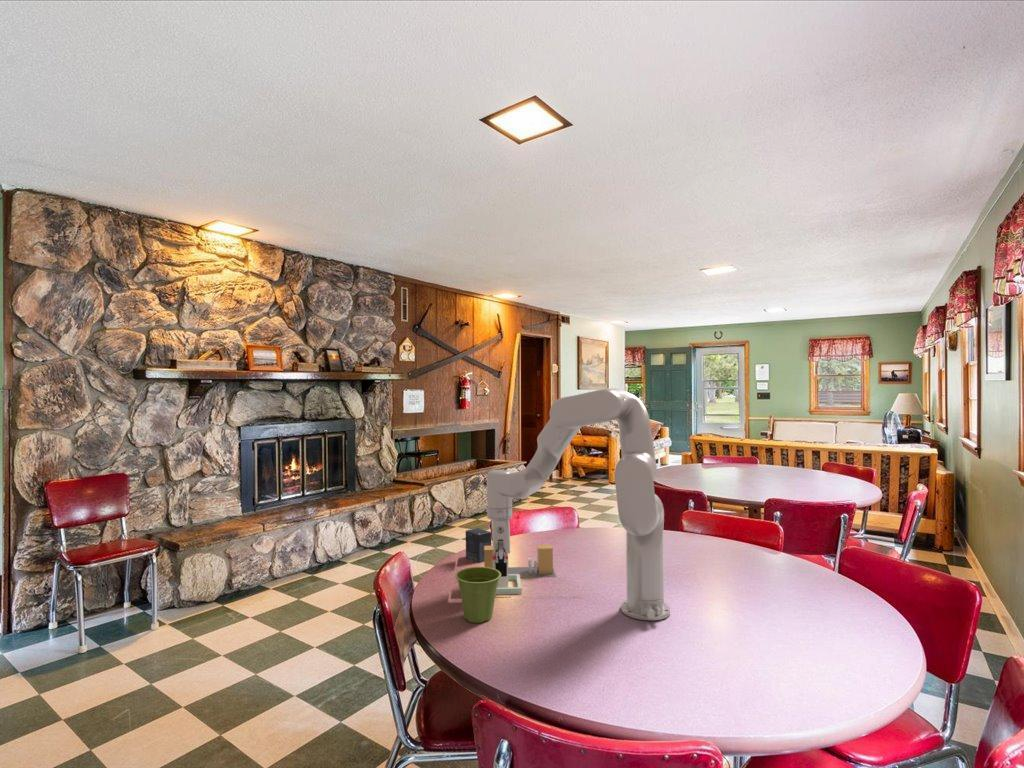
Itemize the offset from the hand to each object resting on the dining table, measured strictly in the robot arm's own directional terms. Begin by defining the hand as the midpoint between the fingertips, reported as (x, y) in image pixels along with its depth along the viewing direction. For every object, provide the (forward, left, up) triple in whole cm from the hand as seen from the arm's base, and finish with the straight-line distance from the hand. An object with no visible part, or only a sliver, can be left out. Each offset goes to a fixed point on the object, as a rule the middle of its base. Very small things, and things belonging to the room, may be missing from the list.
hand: (500, 570), depth 157 cm
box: (+27, +7, -6) cm, 29 cm away
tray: (0, 0, -6) cm, 6 cm away
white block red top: (0, 0, -5) cm, 5 cm away
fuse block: (+12, -6, -6) cm, 15 cm away
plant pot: (-19, +6, -6) cm, 21 cm away
